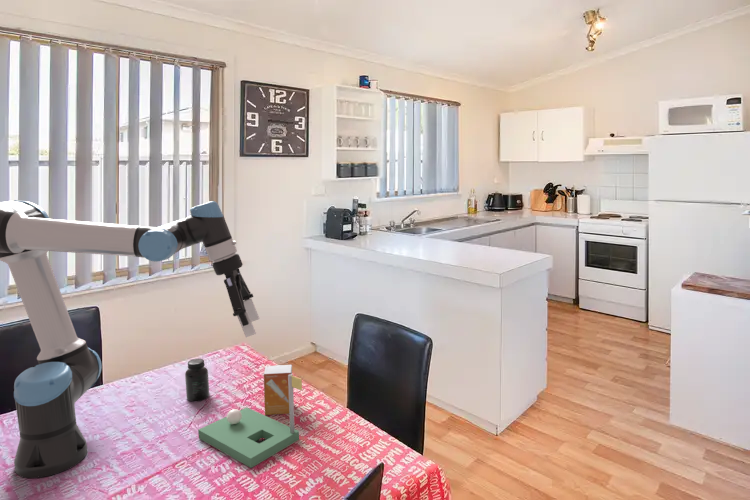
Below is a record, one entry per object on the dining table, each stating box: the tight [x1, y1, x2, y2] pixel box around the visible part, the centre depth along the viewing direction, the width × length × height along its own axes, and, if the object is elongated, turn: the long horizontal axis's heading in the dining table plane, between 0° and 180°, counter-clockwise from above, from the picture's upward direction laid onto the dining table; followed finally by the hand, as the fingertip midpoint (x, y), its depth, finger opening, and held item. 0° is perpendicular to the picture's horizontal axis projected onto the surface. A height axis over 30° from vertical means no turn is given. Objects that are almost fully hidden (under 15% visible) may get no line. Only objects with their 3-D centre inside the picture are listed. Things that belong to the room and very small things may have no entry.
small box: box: [263, 364, 293, 416], centre depth 147 cm, size 8×6×13 cm
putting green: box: [197, 373, 303, 469], centre depth 130 cm, size 25×16×18 cm, turn 53°
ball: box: [226, 408, 242, 424], centre depth 135 cm, size 4×4×4 cm
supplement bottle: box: [184, 358, 210, 402], centre depth 156 cm, size 7×7×12 cm
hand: (253, 327), depth 138 cm, fingers open, 13 cm apart
